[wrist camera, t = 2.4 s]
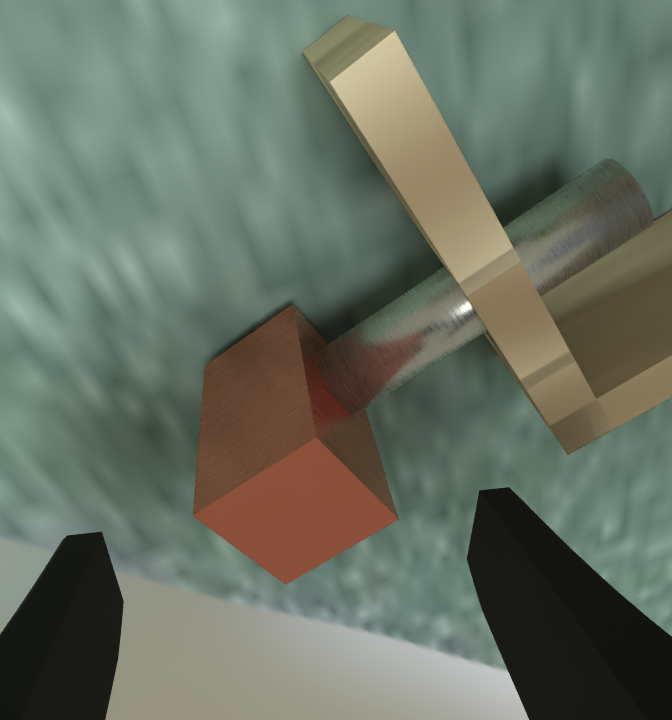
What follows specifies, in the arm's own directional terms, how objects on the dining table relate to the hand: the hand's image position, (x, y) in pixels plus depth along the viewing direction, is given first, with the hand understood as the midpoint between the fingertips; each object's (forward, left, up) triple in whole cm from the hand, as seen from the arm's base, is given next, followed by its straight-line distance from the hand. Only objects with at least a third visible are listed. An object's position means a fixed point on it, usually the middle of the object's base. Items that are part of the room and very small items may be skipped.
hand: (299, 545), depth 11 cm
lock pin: (0, -4, -6) cm, 7 cm away
